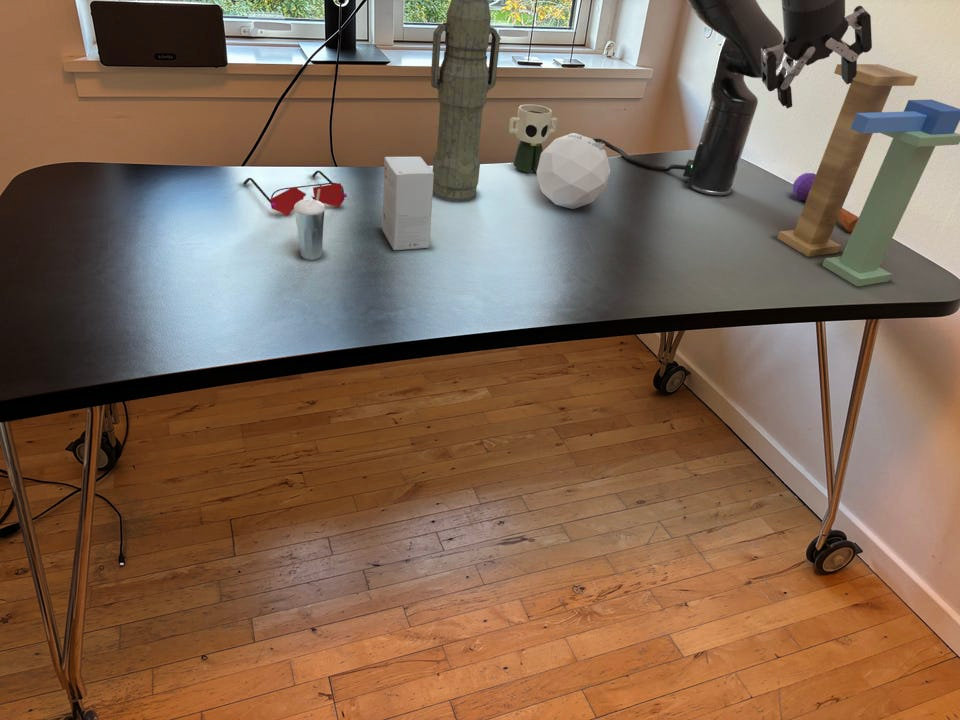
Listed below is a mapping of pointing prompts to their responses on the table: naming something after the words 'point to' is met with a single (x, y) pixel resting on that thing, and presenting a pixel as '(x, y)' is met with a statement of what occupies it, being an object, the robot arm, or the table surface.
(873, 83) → the tall stand
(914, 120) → the peg
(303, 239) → the milkshake
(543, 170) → the geodesic sphere
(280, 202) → the glasses
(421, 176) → the small box
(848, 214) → the kendama
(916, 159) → the green pillar
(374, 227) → the table surface
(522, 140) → the character mug
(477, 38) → the green handled vase
